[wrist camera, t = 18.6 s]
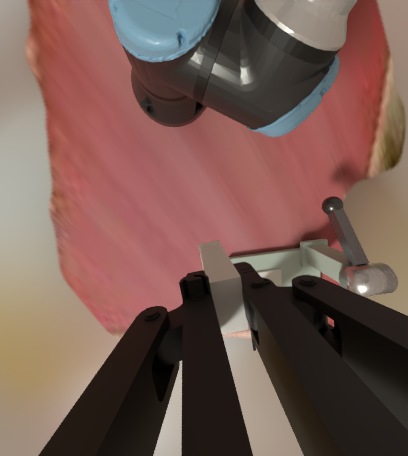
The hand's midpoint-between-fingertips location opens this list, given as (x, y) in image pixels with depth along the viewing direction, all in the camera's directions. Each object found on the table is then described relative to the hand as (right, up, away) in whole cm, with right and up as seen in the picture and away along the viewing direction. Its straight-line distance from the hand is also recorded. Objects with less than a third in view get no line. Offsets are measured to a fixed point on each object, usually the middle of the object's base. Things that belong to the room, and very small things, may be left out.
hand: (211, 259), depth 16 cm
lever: (+26, -1, +25) cm, 36 cm away
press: (+17, -9, +37) cm, 42 cm away
